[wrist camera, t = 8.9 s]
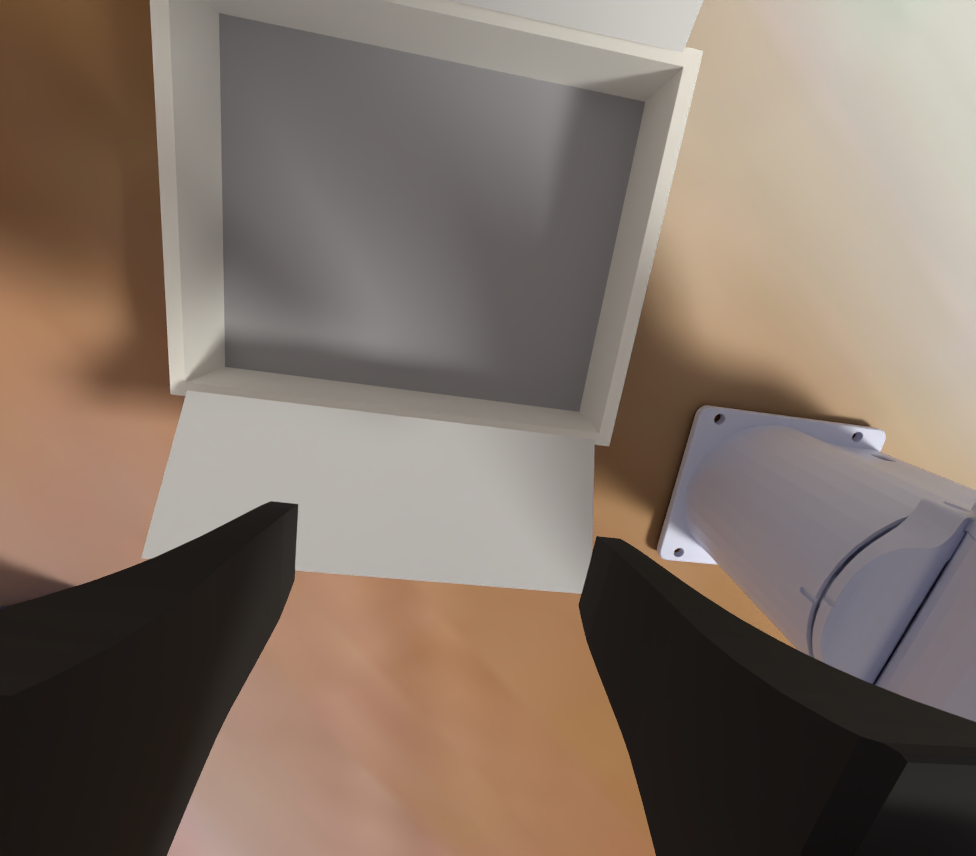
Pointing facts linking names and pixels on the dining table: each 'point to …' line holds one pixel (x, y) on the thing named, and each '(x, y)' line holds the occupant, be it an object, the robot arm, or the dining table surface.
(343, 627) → the dining table surface
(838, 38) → the dining table surface
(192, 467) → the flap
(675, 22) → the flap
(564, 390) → the carton
